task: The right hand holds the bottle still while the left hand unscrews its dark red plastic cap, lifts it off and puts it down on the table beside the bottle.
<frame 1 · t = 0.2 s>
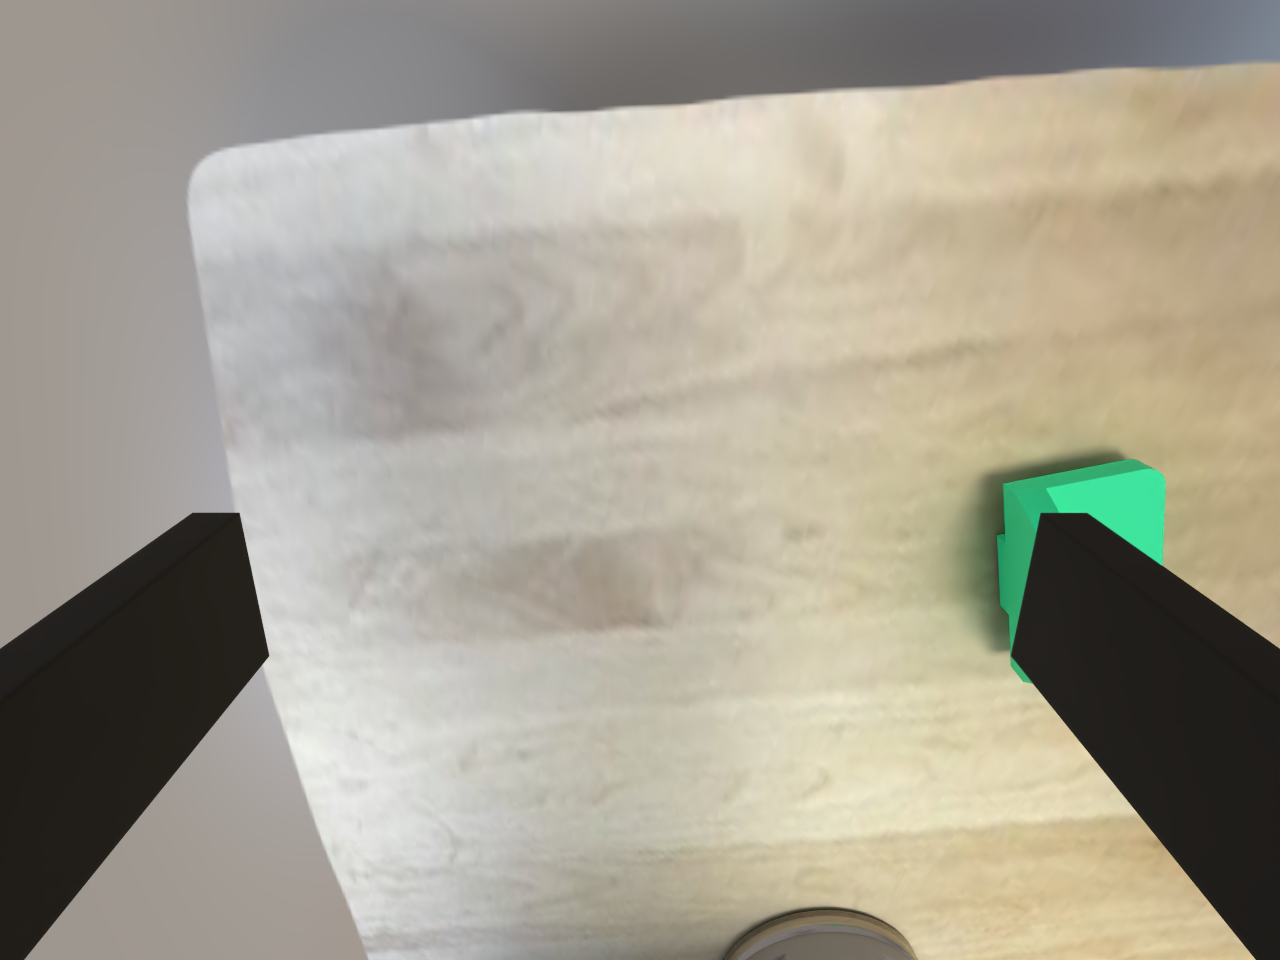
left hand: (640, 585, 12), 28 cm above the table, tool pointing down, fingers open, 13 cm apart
camera mount: (1063, 556, 43), on the table
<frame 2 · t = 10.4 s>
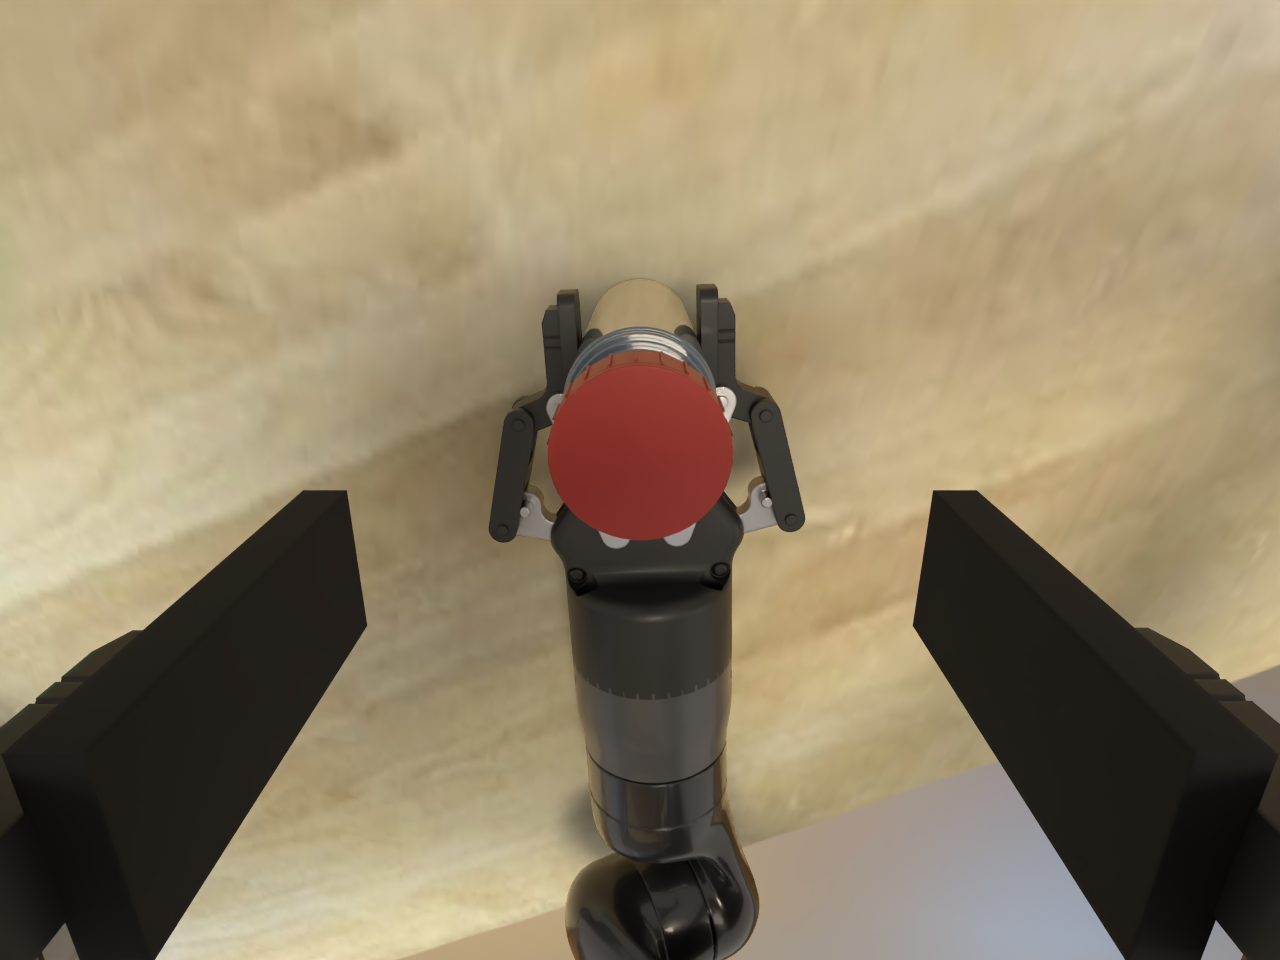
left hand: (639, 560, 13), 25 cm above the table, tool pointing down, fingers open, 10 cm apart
right hand: (636, 290, 29), fingers closed on bottle, 5 cm apart
cap: (640, 453, 19), point 19 cm above the table, screwed on, not yet turned
bottle: (640, 329, 37), on the table, touching right hand
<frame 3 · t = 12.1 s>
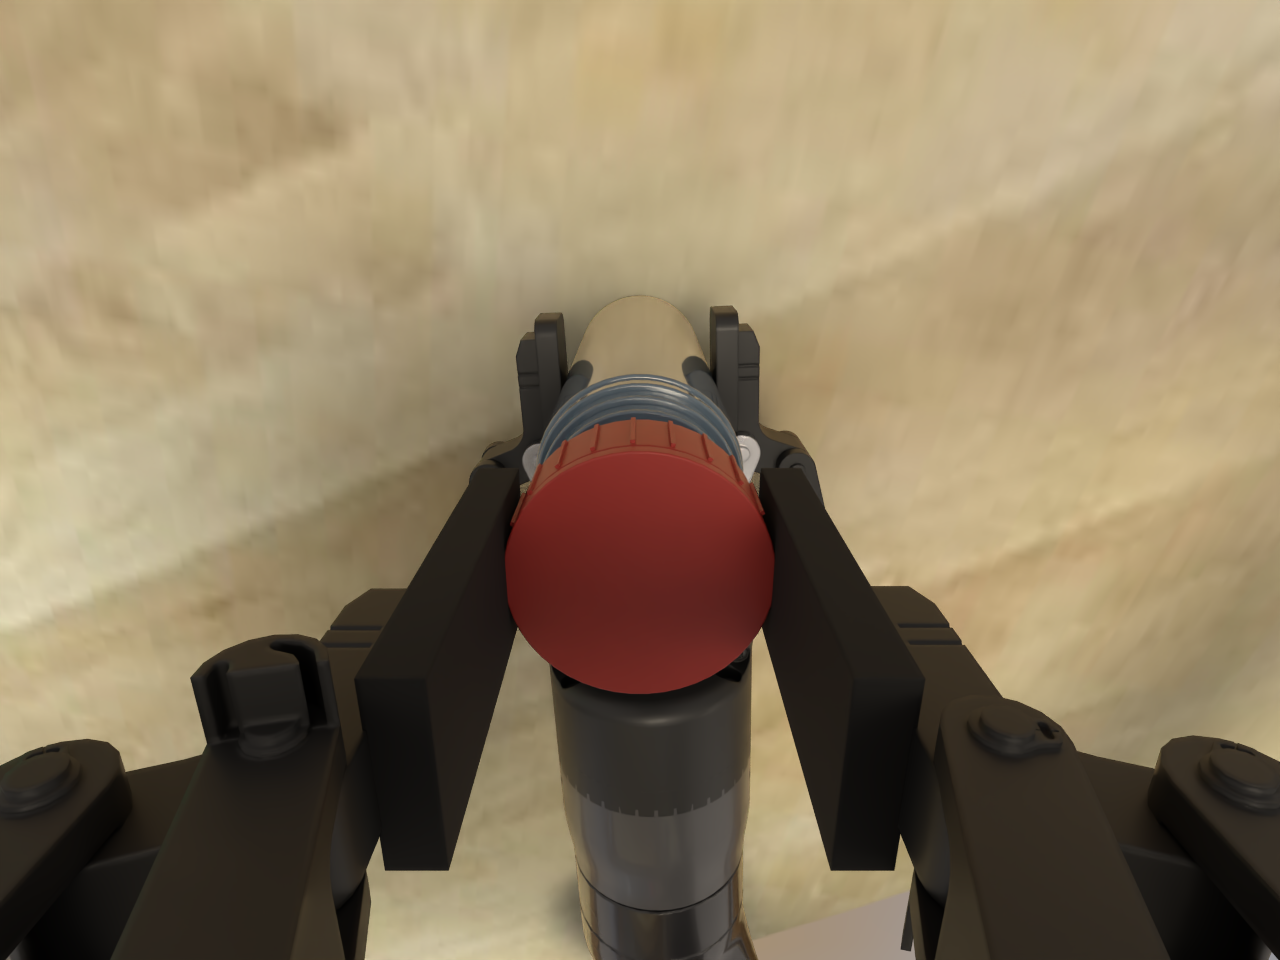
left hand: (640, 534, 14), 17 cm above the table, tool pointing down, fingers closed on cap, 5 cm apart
cap: (639, 572, 13), point 19 cm above the table, screwed on, not yet turned, touching left hand
bottle: (639, 355, 31), on the table, touching right hand
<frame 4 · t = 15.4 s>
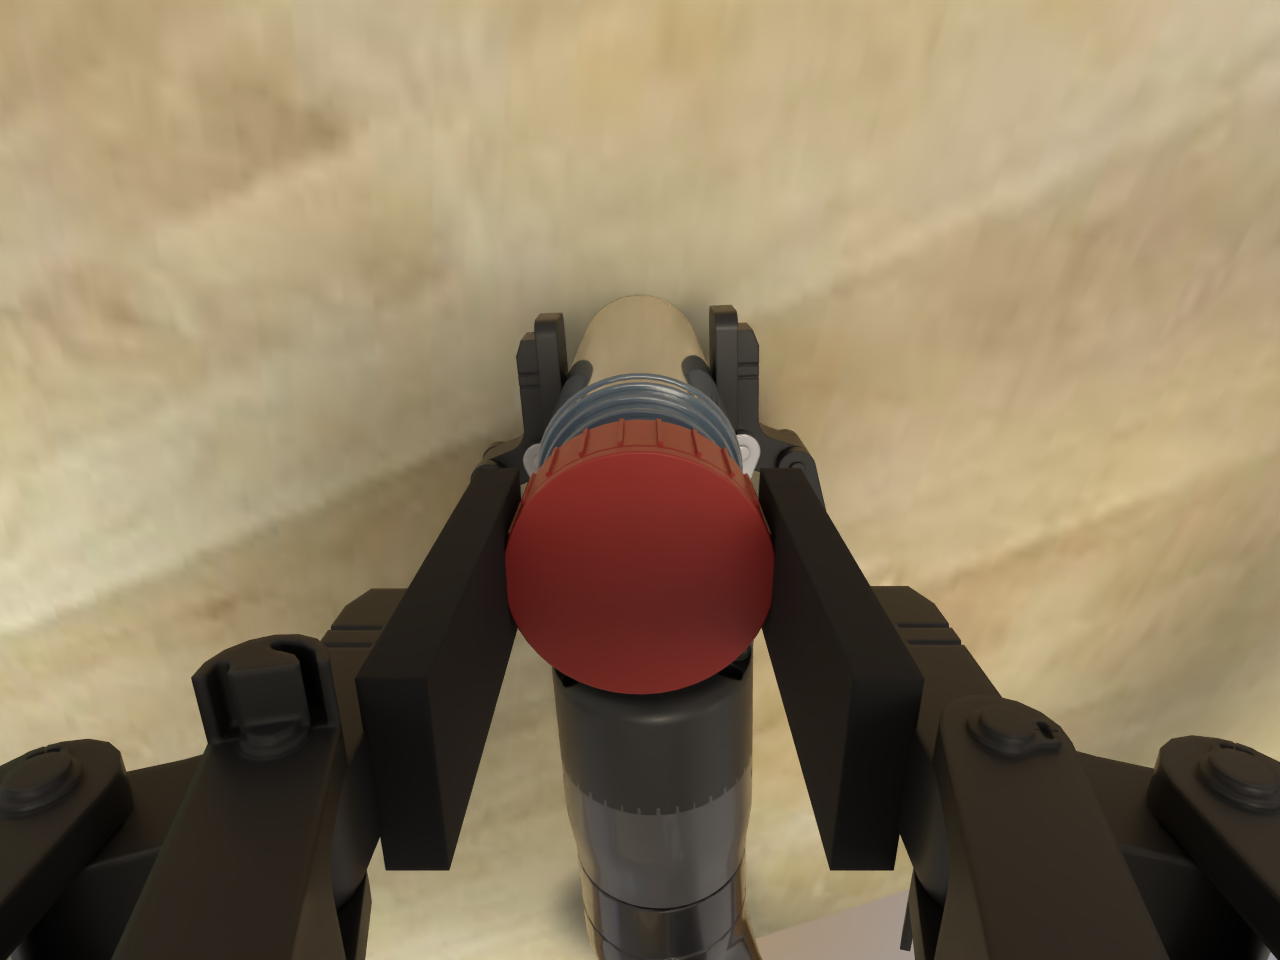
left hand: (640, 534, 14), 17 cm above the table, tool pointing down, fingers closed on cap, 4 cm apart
cap: (639, 572, 13), point 19 cm above the table, turned 103° so far, risen 0.1 cm, still on its thread, touching left hand
bottle: (639, 355, 31), on the table, touching right hand
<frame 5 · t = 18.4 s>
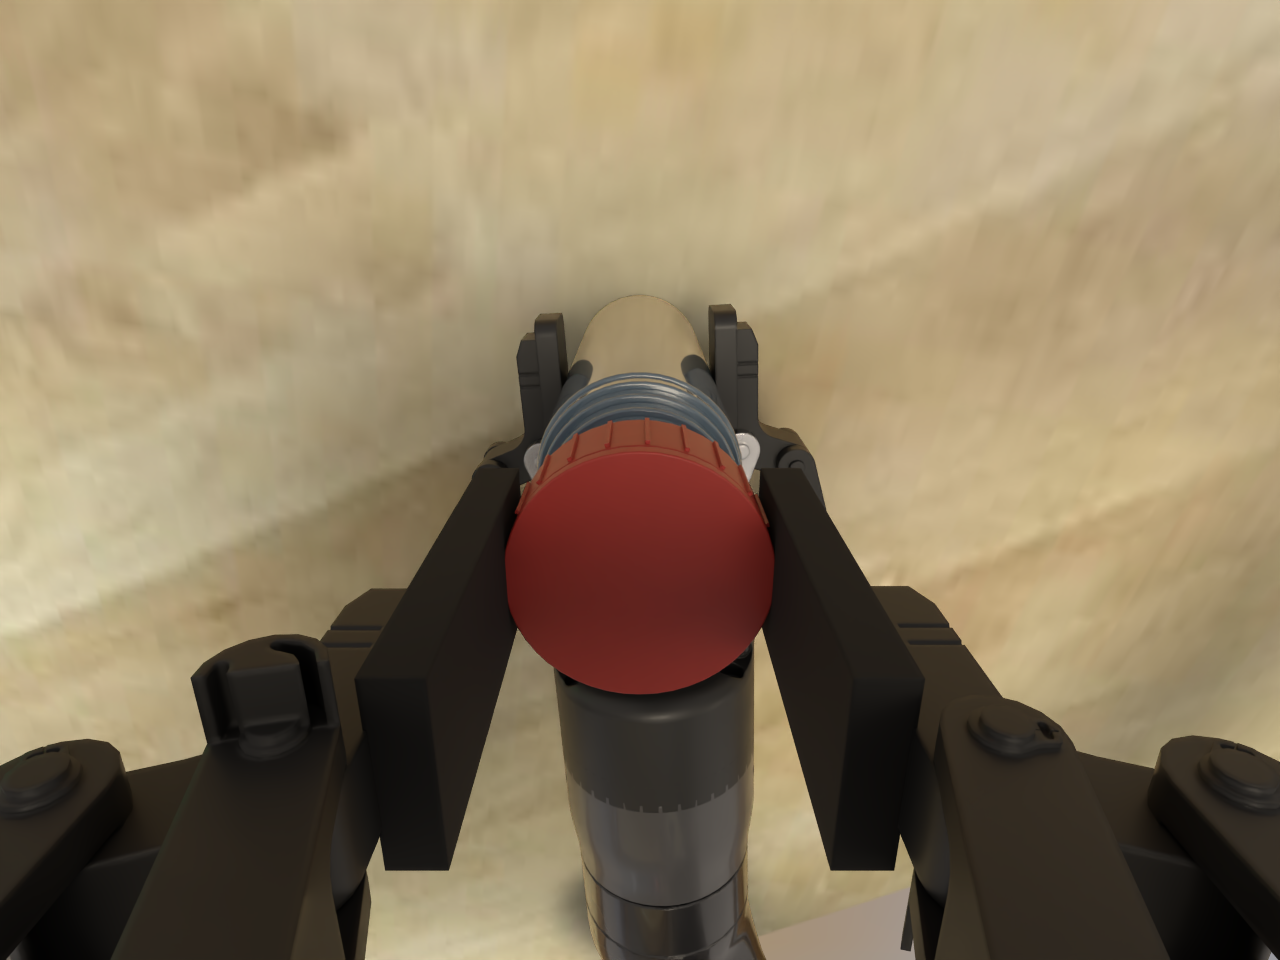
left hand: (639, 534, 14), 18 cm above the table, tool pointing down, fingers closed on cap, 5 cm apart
cap: (639, 573, 13), point 19 cm above the table, turned 206° so far, risen 0.2 cm, still on its thread, touching left hand
bottle: (639, 354, 31), on the table, touching right hand
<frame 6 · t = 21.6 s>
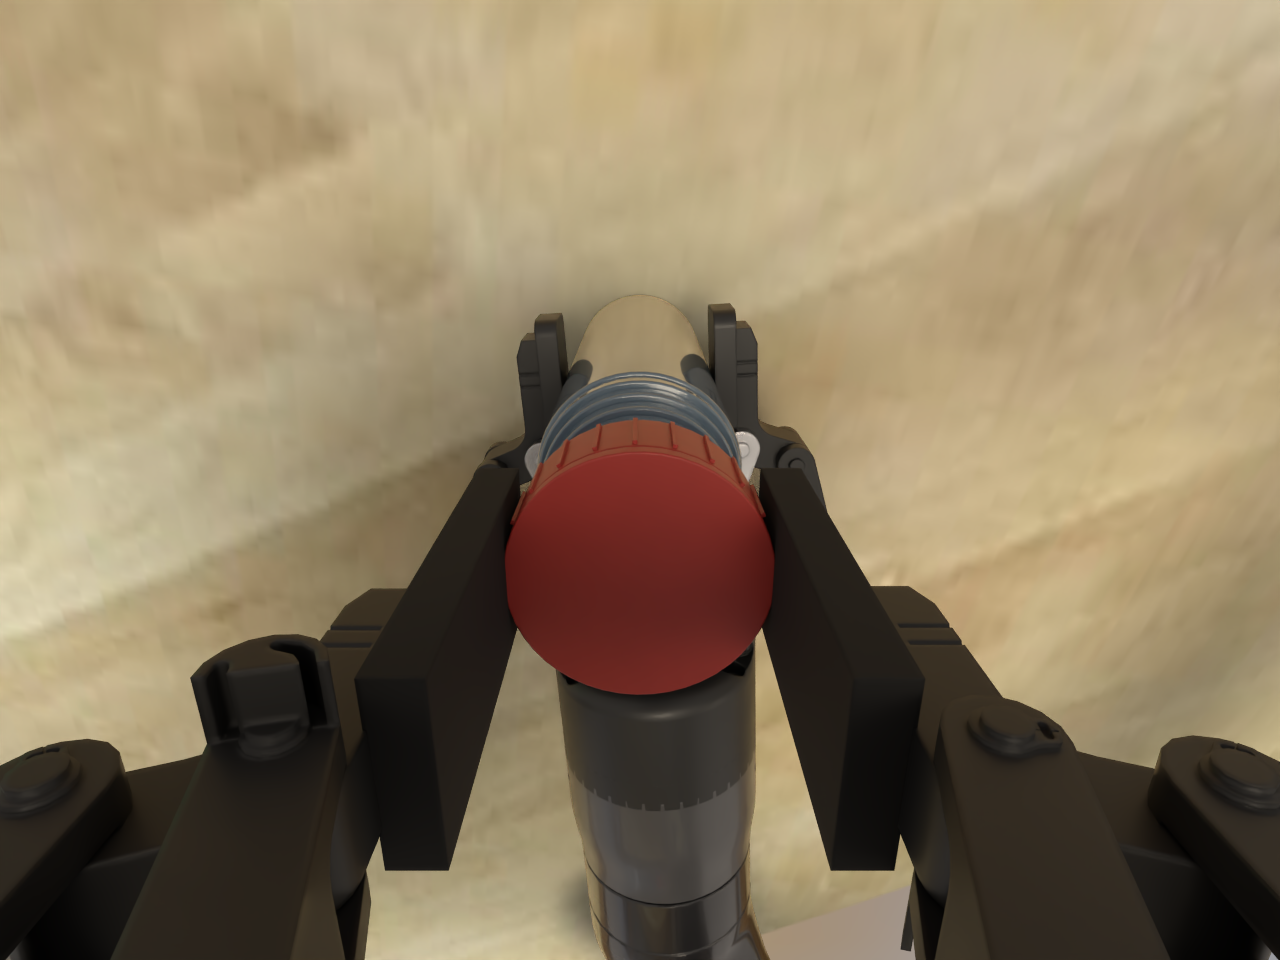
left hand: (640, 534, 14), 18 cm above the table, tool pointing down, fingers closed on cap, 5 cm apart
cap: (639, 573, 13), point 19 cm above the table, turned 309° so far, risen 0.3 cm, still on its thread, touching left hand
bottle: (639, 354, 31), on the table, touching right hand
when the left hand's fingers open (1 cm above the table, at t = 28.2 s): cap drops 1 cm, point 2 cm above the table.
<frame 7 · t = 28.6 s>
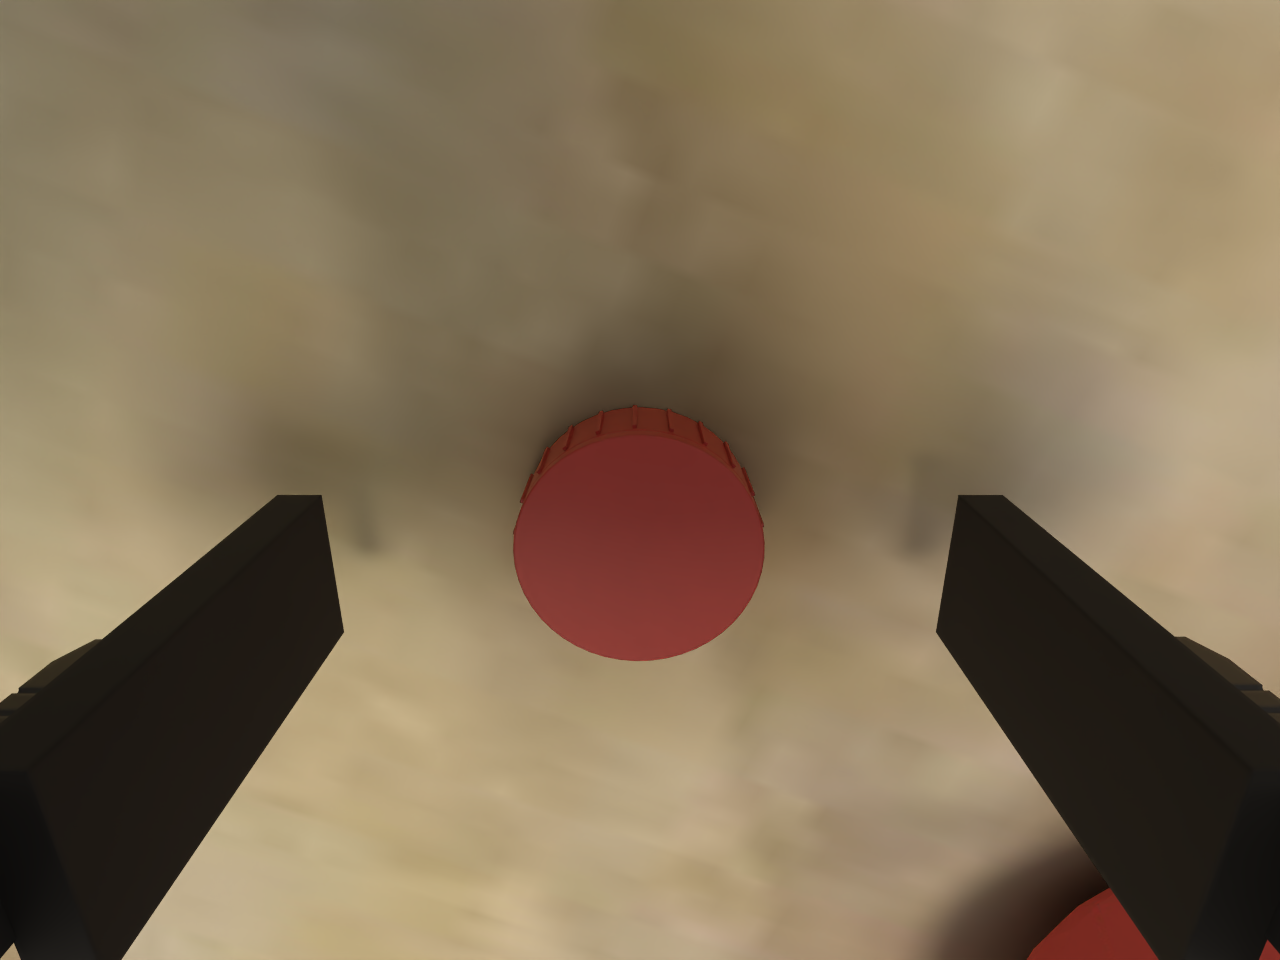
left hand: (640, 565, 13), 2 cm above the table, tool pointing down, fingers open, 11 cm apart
cap: (638, 547, 14), point 2 cm above the table, off its thread
when the right hand's fingers open (7 cm above the table, at t = 29.4 s): bottle stays where it is, on the table.
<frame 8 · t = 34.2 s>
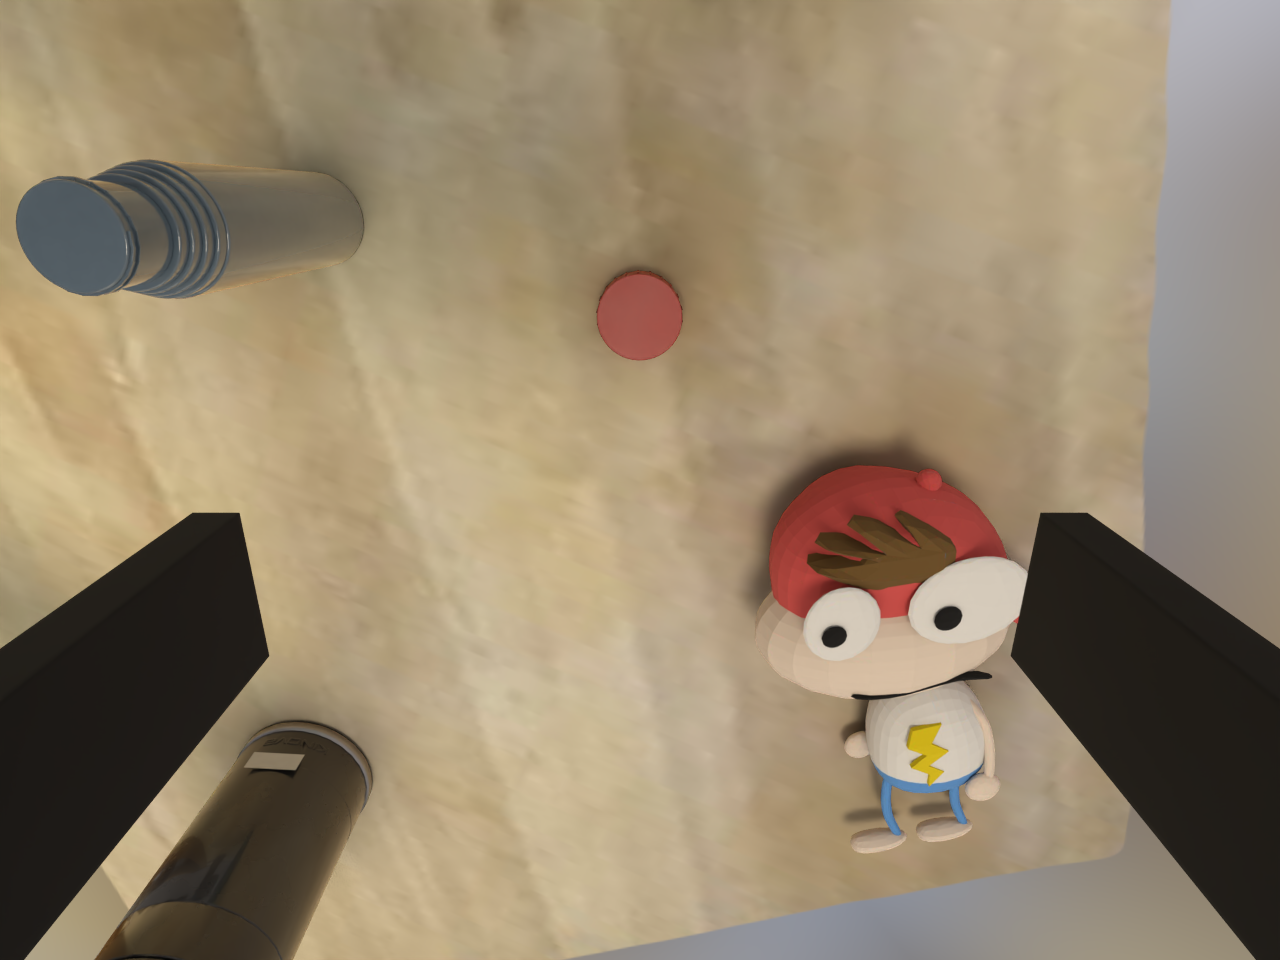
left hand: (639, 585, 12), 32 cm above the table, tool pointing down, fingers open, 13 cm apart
cap: (639, 317, 41), point 2 cm above the table, off its thread
bottle: (319, 220, 40), on the table
toy: (883, 649, 50), on the table
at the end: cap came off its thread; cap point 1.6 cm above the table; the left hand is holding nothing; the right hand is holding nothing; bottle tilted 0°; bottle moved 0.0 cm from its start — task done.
